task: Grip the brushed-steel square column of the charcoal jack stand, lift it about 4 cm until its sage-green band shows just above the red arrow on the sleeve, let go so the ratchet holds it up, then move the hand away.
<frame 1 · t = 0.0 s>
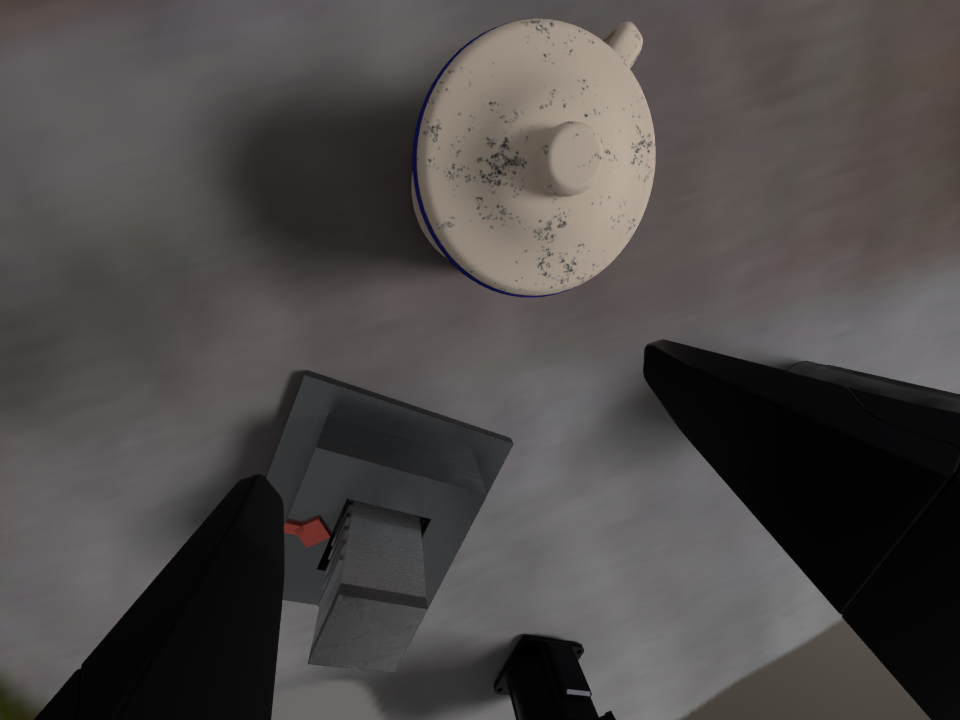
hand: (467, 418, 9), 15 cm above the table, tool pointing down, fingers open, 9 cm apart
teacup with lid: (503, 173, 22), on the table
column: (373, 557, 21), point 5 cm above the table, slide at 0.0 cm
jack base: (378, 494, 27), on the table
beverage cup: (796, 386, 32), on the table
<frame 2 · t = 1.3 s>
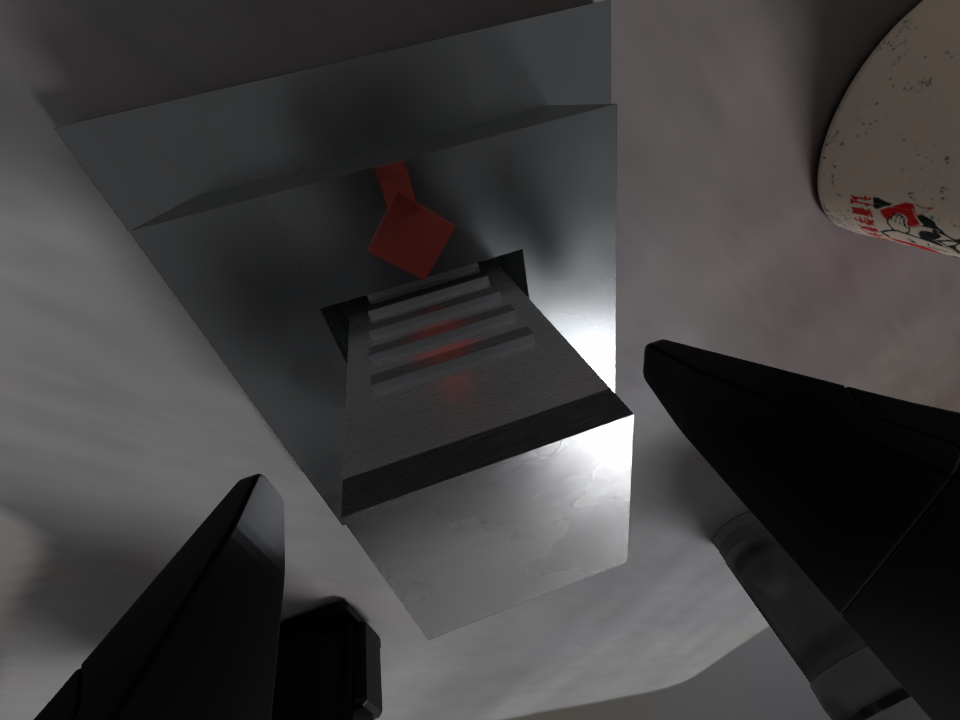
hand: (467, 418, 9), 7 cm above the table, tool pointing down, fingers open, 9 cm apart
teacup with lid: (927, 120, 16), on the table
column: (456, 381, 10), point 5 cm above the table, slide at 0.0 cm
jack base: (425, 297, 14), on the table
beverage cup: (735, 527, 32), on the table
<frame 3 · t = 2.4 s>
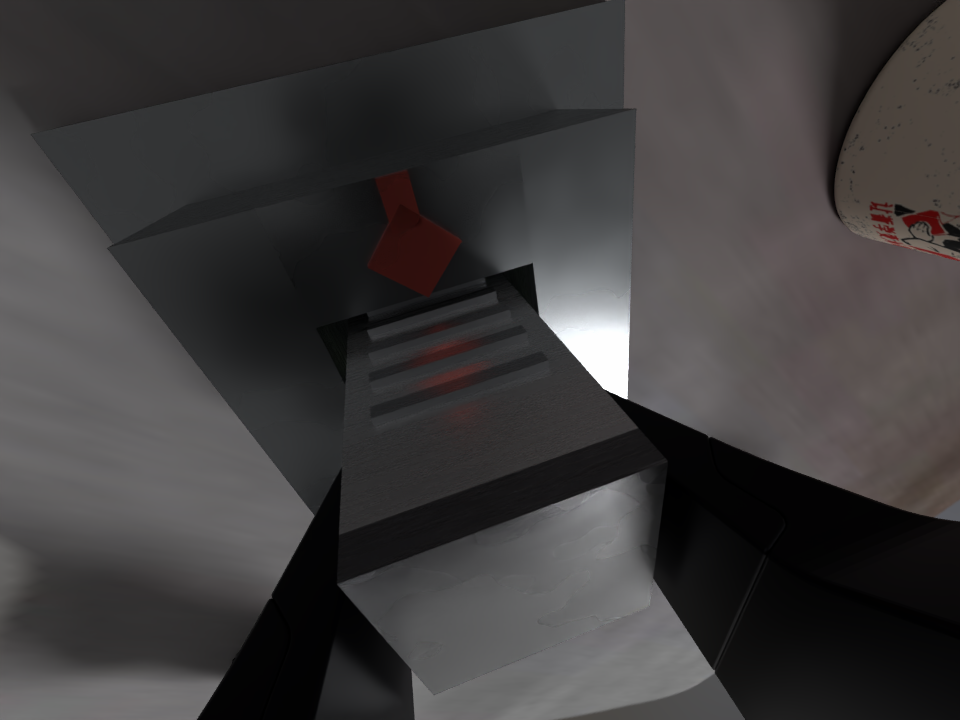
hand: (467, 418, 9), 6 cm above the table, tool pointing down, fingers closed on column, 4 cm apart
teacup with lid: (947, 124, 16), on the table
column: (461, 403, 9), point 5 cm above the table, slide at 0.0 cm, touching gripper
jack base: (428, 308, 14), on the table
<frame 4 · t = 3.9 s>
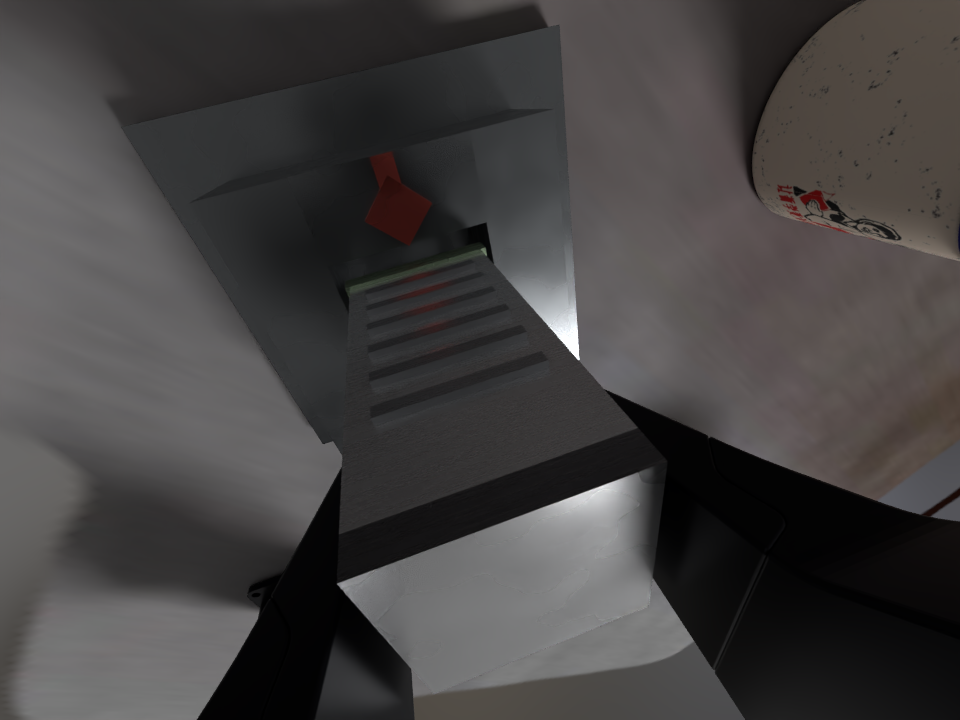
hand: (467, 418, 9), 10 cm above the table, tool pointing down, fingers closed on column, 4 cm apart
teacup with lid: (847, 121, 19), on the table
column: (461, 403, 9), point 9 cm above the table, slide at 3.9 cm, touching gripper
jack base: (414, 270, 17), on the table
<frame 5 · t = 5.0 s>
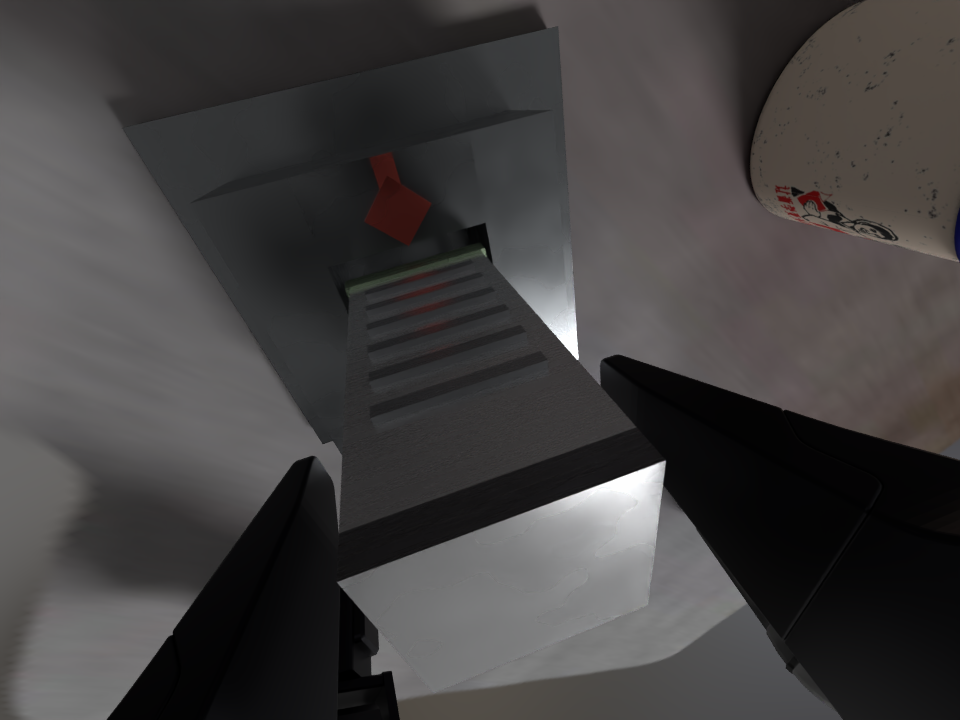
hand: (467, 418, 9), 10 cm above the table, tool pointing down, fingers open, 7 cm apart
teacup with lid: (845, 122, 19), on the table
column: (461, 403, 9), point 9 cm above the table, slide at 3.9 cm
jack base: (414, 271, 17), on the table
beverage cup: (706, 498, 35), on the table
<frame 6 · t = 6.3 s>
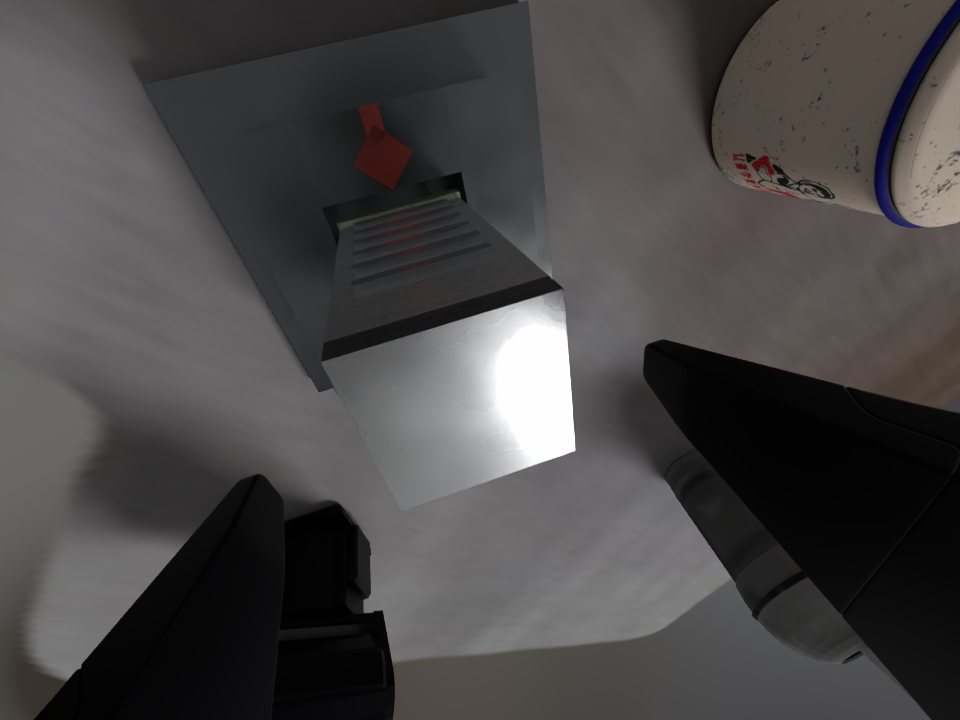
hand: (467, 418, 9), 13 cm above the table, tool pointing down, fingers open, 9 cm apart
teacup with lid: (800, 98, 20), on the table
column: (433, 311, 11), point 9 cm above the table, slide at 3.9 cm
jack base: (402, 228, 19), on the table
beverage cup: (685, 466, 37), on the table
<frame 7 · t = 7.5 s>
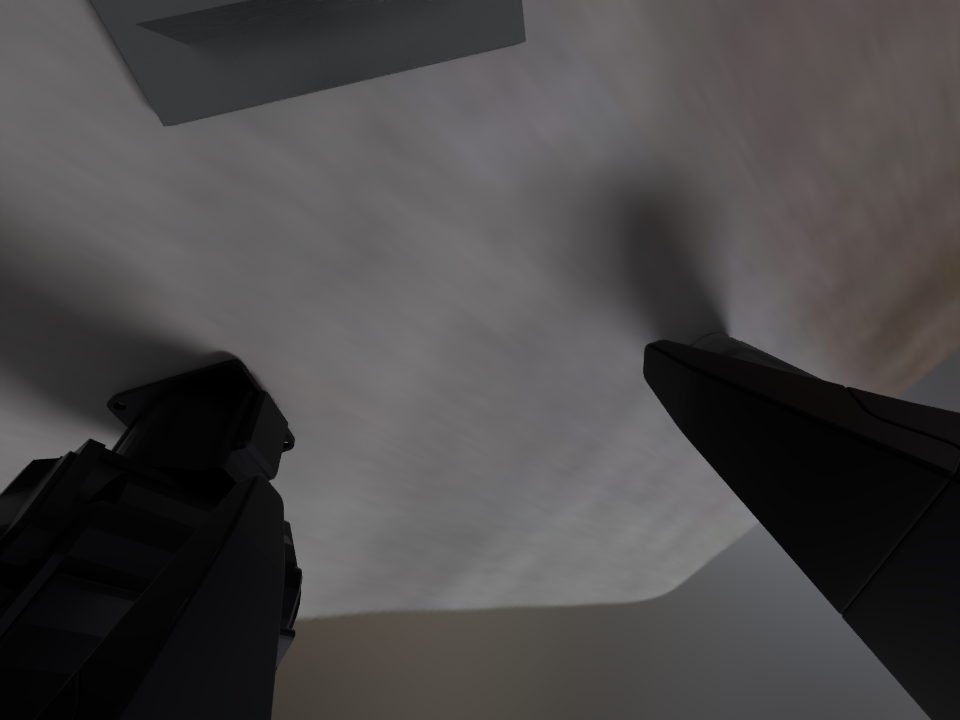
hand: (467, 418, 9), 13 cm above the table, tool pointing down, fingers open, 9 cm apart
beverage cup: (703, 357, 30), on the table
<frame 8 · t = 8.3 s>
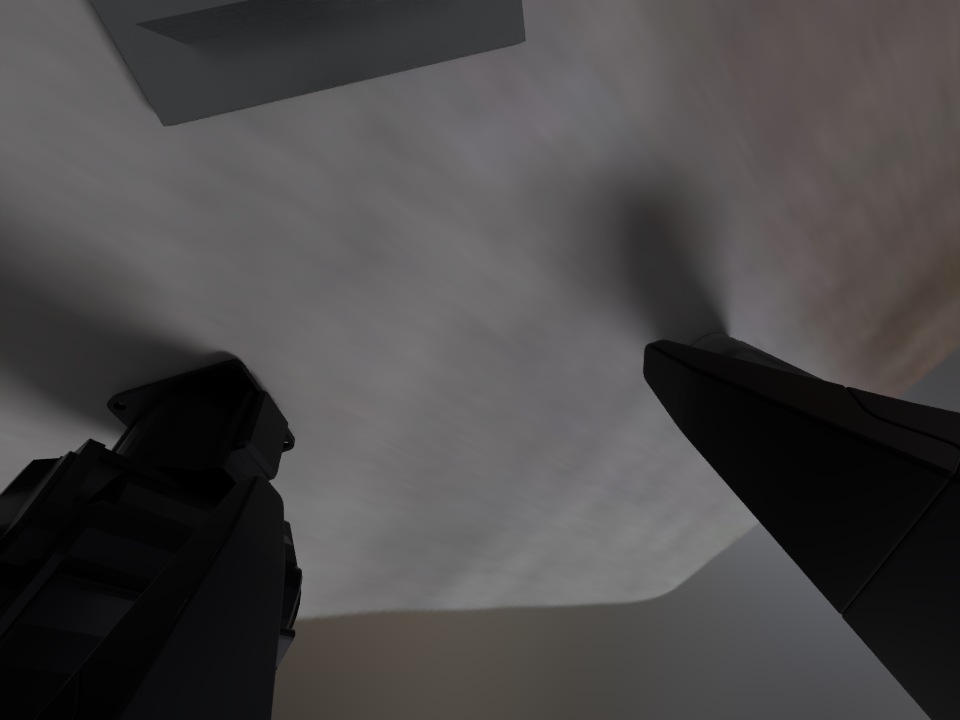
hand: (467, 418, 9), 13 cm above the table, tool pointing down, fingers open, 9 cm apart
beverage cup: (703, 357, 30), on the table
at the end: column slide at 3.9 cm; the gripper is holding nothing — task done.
